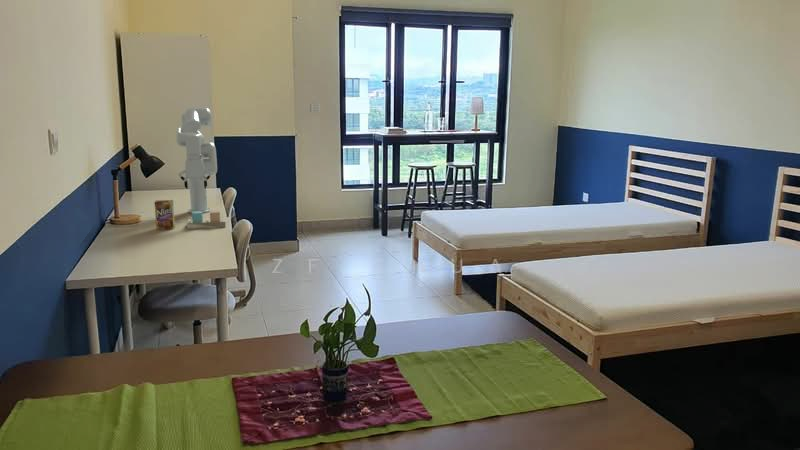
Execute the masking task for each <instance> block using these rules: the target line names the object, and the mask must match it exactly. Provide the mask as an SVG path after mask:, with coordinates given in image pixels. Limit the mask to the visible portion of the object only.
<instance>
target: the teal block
mask: <svg viewBox="0 0 800 450" xmlns="http://www.w3.org/2000/svg"><path fill="white" fill-rule="evenodd" d="M203 217H204V216H203V213H202V211H196V212H192V213H191V221H192V222H191V223H199V222H204V220H203Z"/></svg>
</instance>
